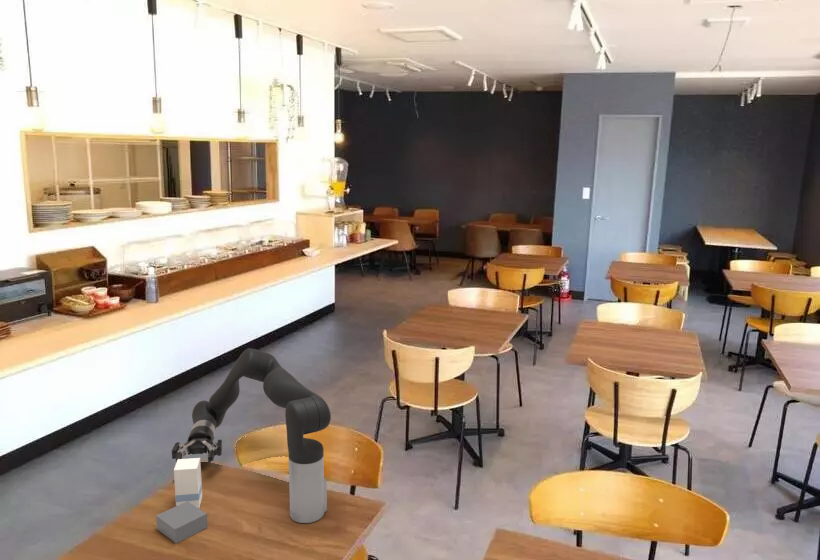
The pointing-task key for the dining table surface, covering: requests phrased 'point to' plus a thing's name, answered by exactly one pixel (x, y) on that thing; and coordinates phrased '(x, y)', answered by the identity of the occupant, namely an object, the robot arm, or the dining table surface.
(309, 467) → the robot arm
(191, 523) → the block
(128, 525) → the dining table surface
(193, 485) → the milk carton
